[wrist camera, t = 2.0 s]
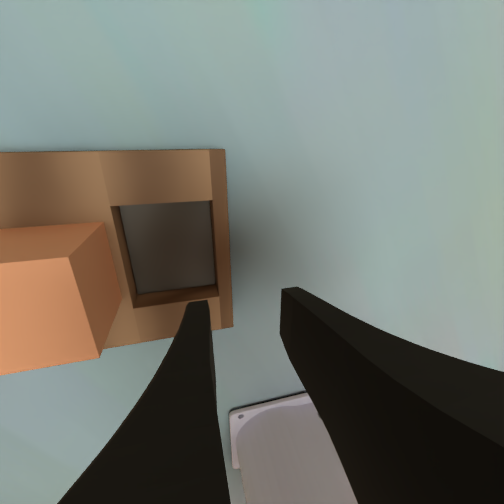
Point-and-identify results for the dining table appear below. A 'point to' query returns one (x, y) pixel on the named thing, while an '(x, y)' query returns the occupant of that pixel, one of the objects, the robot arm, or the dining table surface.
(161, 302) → the board
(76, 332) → the block
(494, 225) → the dining table surface
